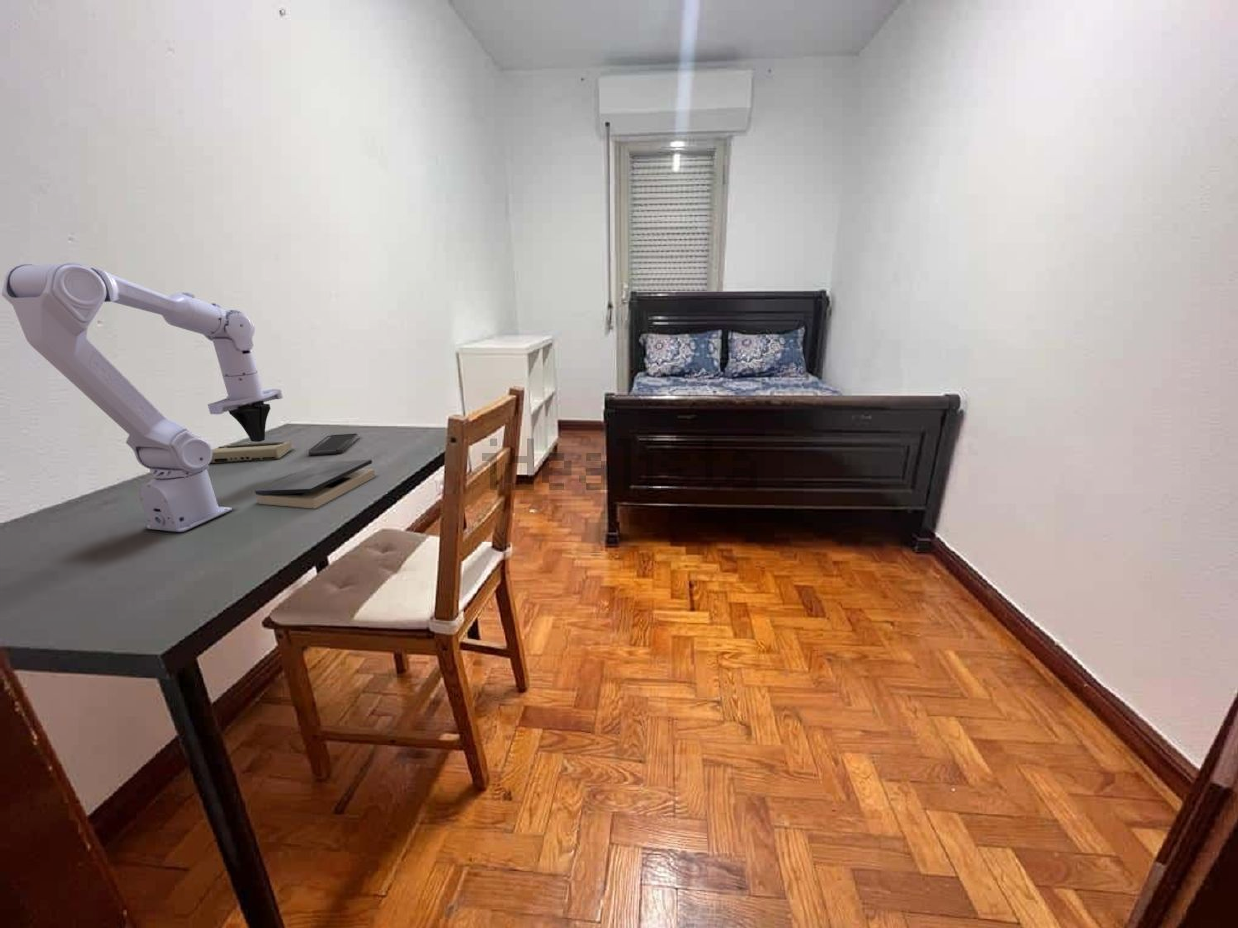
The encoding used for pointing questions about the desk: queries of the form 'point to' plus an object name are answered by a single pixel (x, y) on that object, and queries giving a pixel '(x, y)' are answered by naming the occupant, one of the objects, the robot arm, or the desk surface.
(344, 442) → the phone
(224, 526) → the desk surface
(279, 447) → the computer
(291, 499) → the laptop
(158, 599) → the desk surface
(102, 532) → the desk surface
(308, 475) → the laptop screen
